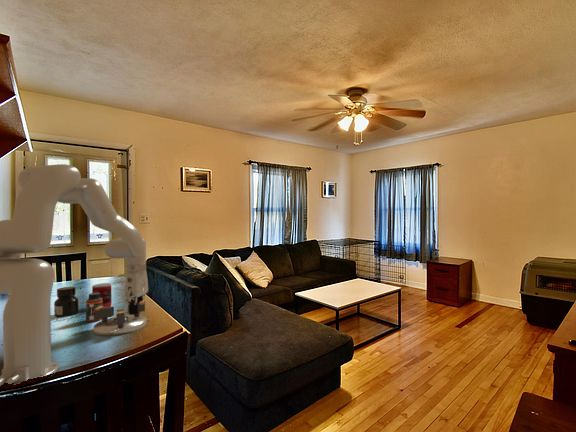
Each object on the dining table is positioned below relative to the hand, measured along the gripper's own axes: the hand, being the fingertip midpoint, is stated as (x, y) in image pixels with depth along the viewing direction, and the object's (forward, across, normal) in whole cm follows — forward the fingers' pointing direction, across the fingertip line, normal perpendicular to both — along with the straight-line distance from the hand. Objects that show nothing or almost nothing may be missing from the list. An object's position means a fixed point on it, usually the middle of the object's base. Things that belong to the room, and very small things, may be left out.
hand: (136, 312), depth 120 cm
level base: (+4, -6, +3) cm, 8 cm away
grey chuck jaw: (+2, -11, 0) cm, 11 cm away
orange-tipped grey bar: (+2, -6, +10) cm, 11 cm away
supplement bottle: (+4, +4, +20) cm, 21 cm away
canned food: (+4, +23, +29) cm, 38 cm away
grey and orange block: (+2, 0, 0) cm, 2 cm away
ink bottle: (+4, +13, +39) cm, 41 cm away
